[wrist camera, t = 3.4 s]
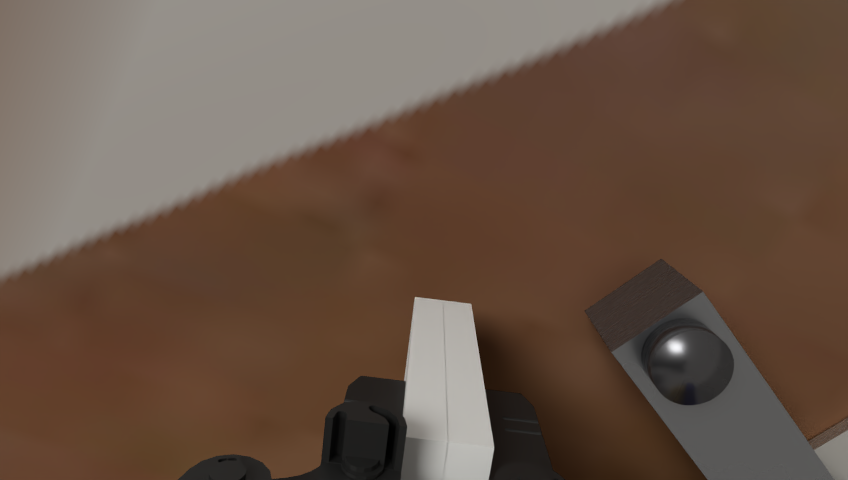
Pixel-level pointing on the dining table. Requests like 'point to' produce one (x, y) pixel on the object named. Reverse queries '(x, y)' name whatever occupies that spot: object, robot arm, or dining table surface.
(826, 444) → the pivot plate
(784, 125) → the dining table surface
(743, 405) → the latch bar
